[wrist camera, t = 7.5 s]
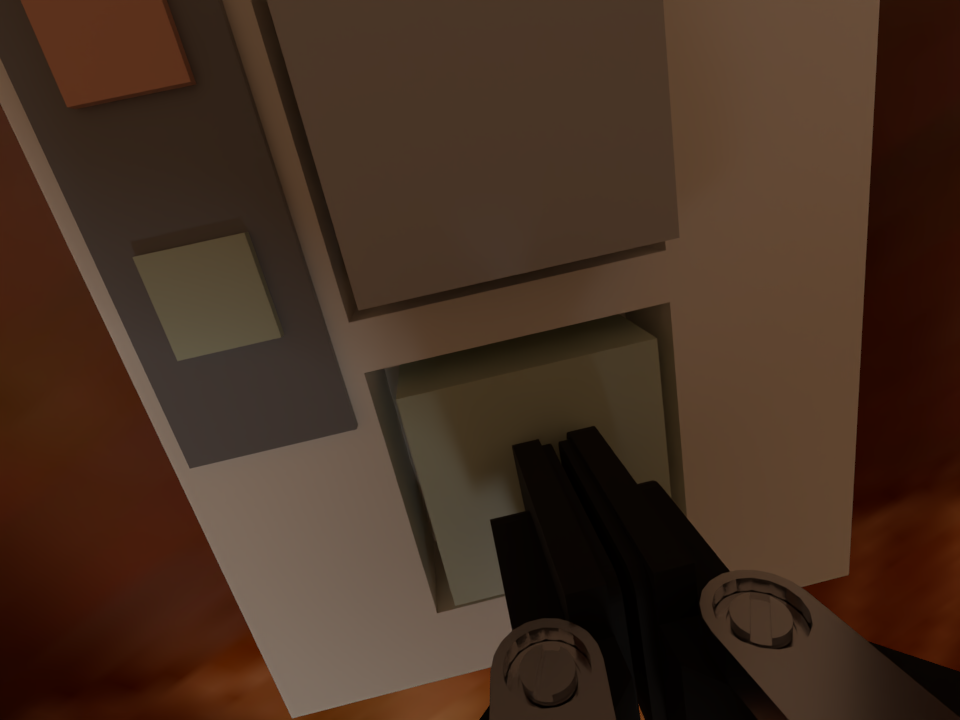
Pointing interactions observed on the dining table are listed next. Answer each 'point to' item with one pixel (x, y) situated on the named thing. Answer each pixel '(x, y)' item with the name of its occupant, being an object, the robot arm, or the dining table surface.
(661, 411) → the sage key
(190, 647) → the dining table surface
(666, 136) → the grey key
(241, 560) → the keypad
